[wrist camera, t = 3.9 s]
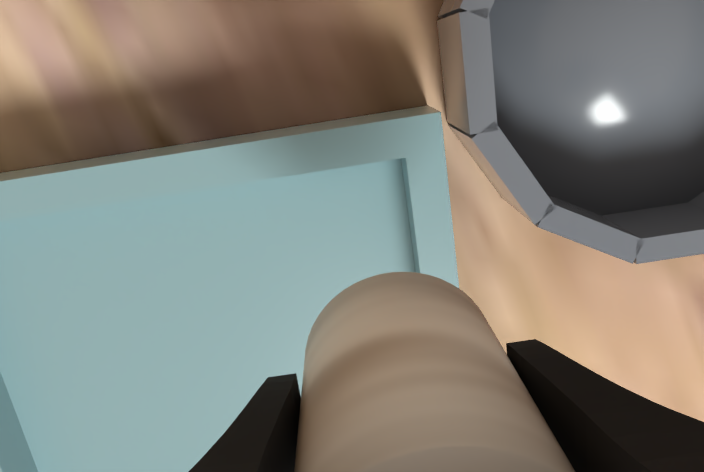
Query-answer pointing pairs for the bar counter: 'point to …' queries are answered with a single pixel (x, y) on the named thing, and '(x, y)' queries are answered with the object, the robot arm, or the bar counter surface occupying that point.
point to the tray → (196, 279)
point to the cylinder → (415, 387)
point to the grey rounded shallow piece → (585, 115)
